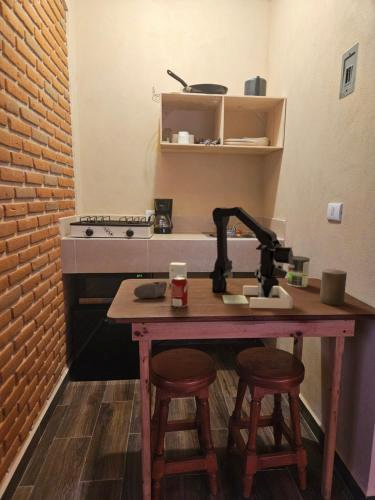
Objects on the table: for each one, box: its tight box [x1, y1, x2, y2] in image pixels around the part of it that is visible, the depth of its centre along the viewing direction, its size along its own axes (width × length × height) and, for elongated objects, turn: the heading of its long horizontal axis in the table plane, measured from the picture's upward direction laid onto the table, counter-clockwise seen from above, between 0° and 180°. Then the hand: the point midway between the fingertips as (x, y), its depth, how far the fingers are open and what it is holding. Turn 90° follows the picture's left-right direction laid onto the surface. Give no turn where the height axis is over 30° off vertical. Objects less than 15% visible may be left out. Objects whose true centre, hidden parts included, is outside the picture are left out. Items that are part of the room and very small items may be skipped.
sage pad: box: [222, 294, 249, 305], centre depth 137 cm, size 10×10×1 cm
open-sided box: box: [242, 285, 294, 309], centre depth 137 cm, size 17×18×4 cm
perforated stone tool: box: [133, 281, 168, 299], centre depth 139 cm, size 15×5×7 cm, turn 105°
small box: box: [168, 261, 188, 285], centre depth 162 cm, size 8×6×10 cm
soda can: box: [170, 276, 189, 309], centre depth 128 cm, size 7×7×12 cm
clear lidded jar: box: [286, 255, 311, 288], centre depth 162 cm, size 10×10×14 cm
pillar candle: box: [319, 268, 348, 306], centre depth 135 cm, size 10×10×15 cm
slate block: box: [257, 282, 273, 298], centre depth 136 cm, size 5×5×7 cm
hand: (265, 296), depth 137 cm, fingers closed on slate block, 5 cm apart
